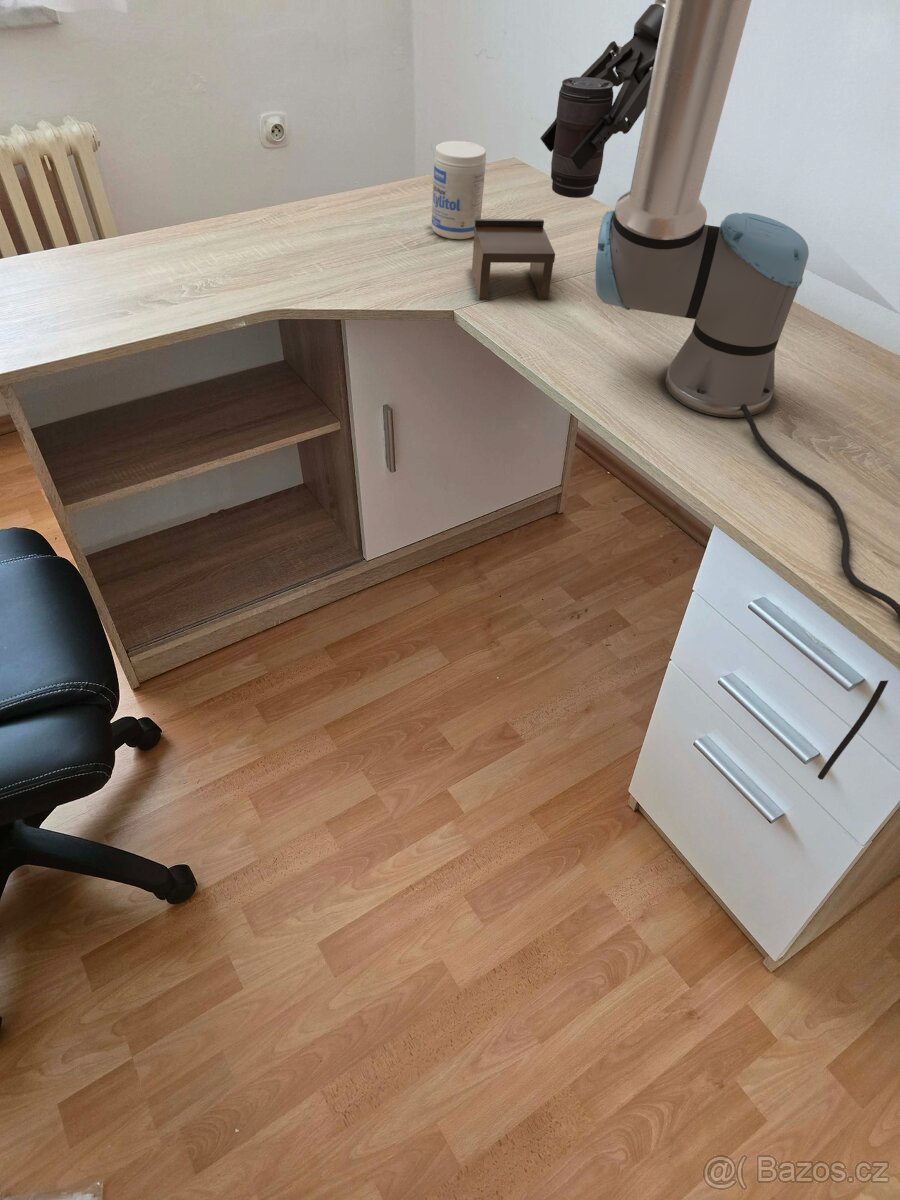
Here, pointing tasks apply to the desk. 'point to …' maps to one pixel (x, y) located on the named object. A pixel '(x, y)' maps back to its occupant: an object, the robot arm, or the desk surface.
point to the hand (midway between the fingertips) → (560, 153)
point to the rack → (512, 251)
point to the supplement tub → (457, 188)
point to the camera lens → (578, 133)
